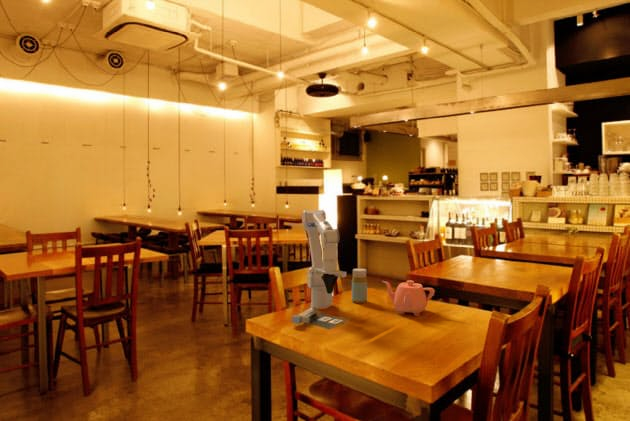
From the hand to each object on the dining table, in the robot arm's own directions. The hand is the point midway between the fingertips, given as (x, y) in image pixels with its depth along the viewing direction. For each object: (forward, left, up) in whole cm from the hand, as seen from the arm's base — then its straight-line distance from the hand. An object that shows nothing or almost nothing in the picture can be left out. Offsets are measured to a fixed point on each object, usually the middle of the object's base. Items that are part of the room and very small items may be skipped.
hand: (329, 293), depth 174 cm
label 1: (+4, +1, -10) cm, 11 cm away
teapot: (-27, +21, -11) cm, 36 cm away
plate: (+5, +1, -10) cm, 12 cm away
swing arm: (+11, -4, -9) cm, 15 cm away
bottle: (-29, -4, -11) cm, 31 cm away
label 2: (+4, +6, -10) cm, 12 cm away
